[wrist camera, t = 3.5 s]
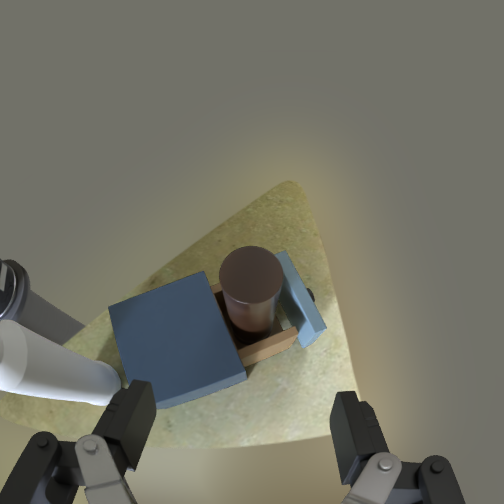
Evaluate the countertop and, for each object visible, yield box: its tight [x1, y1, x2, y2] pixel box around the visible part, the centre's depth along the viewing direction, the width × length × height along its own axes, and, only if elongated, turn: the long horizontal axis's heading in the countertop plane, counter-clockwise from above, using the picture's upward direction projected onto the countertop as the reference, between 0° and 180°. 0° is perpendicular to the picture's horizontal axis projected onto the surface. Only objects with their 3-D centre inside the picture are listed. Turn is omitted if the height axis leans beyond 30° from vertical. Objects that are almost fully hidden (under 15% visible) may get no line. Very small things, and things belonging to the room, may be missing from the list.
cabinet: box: [108, 271, 247, 409], centre depth 27 cm, size 9×9×8 cm
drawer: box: [210, 251, 327, 367], centre depth 28 cm, size 10×8×7 cm
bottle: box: [0, 320, 121, 406], centre depth 17 cm, size 5×5×25 cm
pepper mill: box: [219, 246, 283, 345], centre depth 24 cm, size 4×4×13 cm
